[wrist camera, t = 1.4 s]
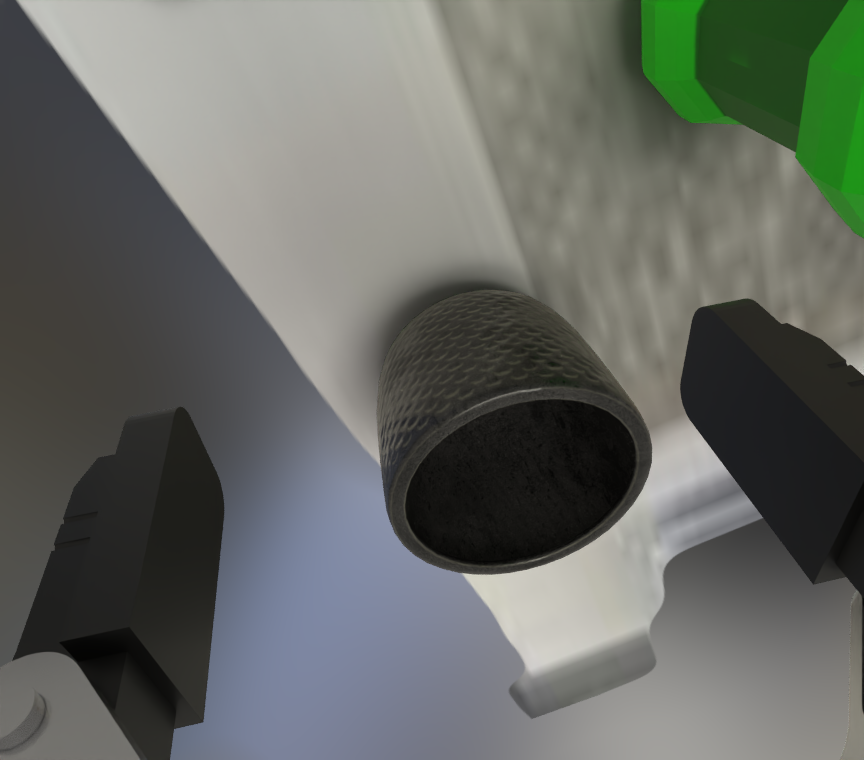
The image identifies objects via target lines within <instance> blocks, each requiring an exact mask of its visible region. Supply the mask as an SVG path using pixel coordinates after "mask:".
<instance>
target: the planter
mask: <svg viewBox="0 0 864 760" xmlns="http://www.w3.org/2000/svg"><path fill="white" fill-rule="evenodd" d="M377 426H378V441H379V452H380V463H381V471H382V479H383V488H384V496H385V502H386V509H387V513H388V517H389V520H390V522H391V525H392V527H393V530H394V532H395V534H396V535H397V536H398V538H399V540H400V541H401V542H402V544H403V545H404V546H405V547H406V548H407V549H408V550H410V552H412V553H413V554H414V555H415V556H417V557H419V558H420V559H422V560H424V561H425V562H427V563H429V564H432V565H434V566H437V567H439V568H442V569H446V570H451V571H454V572H458V573H467V574H491V575H492V574H503V573H511V572H517V571H522V570H527V569H531V568H534V567H538V566H541V565H545V564H548V563H550V562H553V561H555V560H558V559H561V558H563V557H565V556H567V555H569V554H571V553H573V552H575V551H577V550H579V549H581V548H583V547H584V546H586V545H588V544H589V543H591V542H592V541H594V540H596V539H597V538H598V537H600V536H601V535H602V534H604V533H605V532H606V531H608V530H609V529H610V528H611V527H612V526H613V525H614V524H615V523H616V522H618V521H619V520H620V519H621V518H622V517H623V515H624V514H625V513H626V512H627V511H628V510H629V508H630V507H631V506H632V505H633V503H634V502H635V500H636V499H637V497H638V496H639V494H640V493H641V491H642V489H643V487H644V485H645V482H646V480H647V478H648V475H649V471H650V467H651V463H652V444H651V439H650V434H649V430H648V428H647V426H646V424H645V422H644V420H643V418H642V416H641V414H640V412H639V410H638V409H637V407H636V406H635V404H634V403H633V402H632V400H631V399H630V398H629V396H628V395H627V394H626V392H625V391H624V389H623V388H622V387H621V385H620V384H619V383H618V381H617V380H616V379H615V377H614V376H613V375H612V374H611V372H610V371H609V370H608V368H607V367H606V366H605V365H604V363H603V362H602V361H601V360H600V358H599V357H598V356H597V355H596V353H595V352H594V351H593V350H592V349H591V347H590V346H589V345H588V344H587V343H586V341H585V340H584V339H583V338H582V337H581V335H580V334H579V333H578V332H577V331H576V330H575V329H574V328H573V327H572V326H571V325H570V324H569V323H568V322H567V321H566V320H565V319H564V318H562V317H561V316H560V315H559V314H557V313H556V312H555V311H554V310H552V309H551V308H549V307H548V306H546V305H544V304H542V303H540V302H538V301H536V300H535V299H533V298H531V297H528V296H525V295H522V294H519V293H516V292H509V291H503V290H478V291H471V292H465V293H462V294H458V295H454V296H451V297H449V298H447V299H444V300H442V301H440V302H437V303H436V304H434V305H432V306H431V307H429V308H427V309H426V310H424V311H423V312H421V313H420V314H419V315H418V316H416V317H415V318H414V319H413V320H412V321H411V322H410V323H409V324H408V325H407V326H406V327H405V328H404V329H403V330H402V331H401V332H400V334H399V335H398V337H397V338H396V340H395V341H394V342H393V344H392V345H391V347H390V350H389V352H388V354H387V356H386V358H385V361H384V365H383V368H382V372H381V376H380V379H379V387H378V401H377Z"/></svg>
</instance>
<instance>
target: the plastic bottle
mask: <svg viewBox="0 0 864 760" xmlns="http://www.w3.org/2000/svg"><path fill="white" fill-rule="evenodd" d="M641 40H642V67H643V72H644V75H645V76H646V77H647V79H648V80H649V81H650V82H651V83H652V85H653V86H654V87H655V88H656V89H657V90H658V92H659V93H660V94H661V95H662V96H663V98H664V99H665V100H666V101H667V102H668V103H669V105H670V106H671V107H672V108H673V109H674V111H675V112H676V113H677V114H678V115H679V116H680V117H682V118H684V119H685V120H687V121H689V122H690V123H713V124H739V125H745V126H747V127H749V128H751V129H753V130H755V131H756V132H758V133H760V134H762V135H764V136H766V137H768V138H770V139H772V140H774V141H775V142H777V143H779V144H781V145H783V146H785V147H787V148H789V149H791V150H793V151H794V152H796V156H795V157H796V159H797V160H798V161H799V163H800V164H801V165H802V167H803V168H804V169H805V171H806V172H807V174H808V175H809V176H810V178H811V179H812V180H813V182H814V183H815V184H816V186H817V187H818V189H819V190H820V191H821V193H822V194H823V195H824V197H825V198H826V199H827V201H828V202H829V203H830V205H831V206H832V208H833V209H834V210H835V211H836V212H837V214H838V215H839V216H840V217H841V218H842V219H843V220H844V222H845V223H846V224H847V225H848V226H849V227H850V228H851V229H852V231H853V232H854V233H856V234H857V235H859V236H861V237H862V238H864V0H641Z"/></svg>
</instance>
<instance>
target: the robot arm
mask: <svg viewBox="0 0 864 760" xmlns="http://www.w3.org/2000/svg"><path fill="white" fill-rule="evenodd" d="M680 391H681V399H682V403H683V406H684V409H685V411H686V414H687V416H688V418H689V419H690V421H691V422H692V423H693V425H694V426H695V427H696V429H697V430H698V431H699V433H700V434H701V435H702V437H703V438H704V439H705V441H706V442H707V443H708V445H709V446H710V447H711V449H712V450H713V451H714V453H715V454H716V455H717V457H718V458H719V459H720V461H721V462H722V463H723V465H724V466H725V467H726V469H727V470H728V471H729V473H730V474H731V475H732V477H733V478H734V479H735V481H736V482H737V483H738V485H739V486H740V487H741V489H742V490H743V491H744V493H745V494H746V495H747V497H748V498H749V499H750V501H751V502H752V503H753V505H754V506H755V507H756V509H757V510H758V511H759V513H760V514H761V515H762V517H763V518H764V519H765V521H766V522H767V523H768V525H769V526H770V527H771V529H772V530H773V531H774V533H775V534H776V535H777V537H778V538H779V539H780V541H781V542H782V543H783V545H784V546H785V547H786V549H787V550H788V551H789V553H790V554H791V555H792V557H793V558H794V559H795V561H796V562H797V563H798V565H799V566H800V567H801V569H802V570H803V571H804V573H805V574H806V575H807V577H808V578H809V579H810V581H811V582H812V583H813V584H817V583H822V582H826V581H830V580H835V579H839V578H843V577H847V578H848V579H849V581H850V582H851V583H852V584H853V586H854V587H855V588H856V589H857V590H856V592H855V594H854V596H853V598H852V601H851V614H850V615H851V616H850V673H849V678H850V680H849V725H848V732H847V738H846V743H845V746H844V750H843V752H842V756H841V758H840V760H864V375H862V374H861V373H860V372H859V371H858V370H857V369H855V368H854V367H853V366H852V365H849V366H847V364H846V360H845V359H844V358H842V357H841V356H840V355H839V354H838V353H837V352H835V351H834V350H833V349H832V348H831V347H830V346H828V345H827V344H826V343H825V342H824V341H823V340H821V339H820V338H817V337H815V336H813V335H811V334H809V333H807V332H805V331H803V330H801V329H798V328H796V327H794V326H792V325H790V324H788V323H785V324H780V323H779V322H778V321H777V320H776V319H775V318H774V317H773V316H771V315H770V314H769V313H768V312H767V311H766V310H765V309H764V308H762V307H761V306H760V305H759V304H758V303H757V302H755V301H754V300H752V299H741V300H736V301H731V302H726V303H721V304H715V305H710V306H705V307H701V308H699V309H698V310H697V311H696V312H695V314H694V316H693V319H692V324H691V329H690V335H689V340H688V345H687V351H686V356H685V361H684V367H683V372H682V377H681V384H680ZM63 519H64V524H62V525H61V526H60V529H59V532H58V534H57V537H56V540H55V543H54V545H55V551H51V554H50V557H49V560H48V563H47V566H46V568H45V571H44V574H43V577H42V580H41V583H40V586H39V588H38V591H37V594H36V597H35V600H34V602H33V606H32V608H31V611H30V614H29V617H28V619H27V622H26V625H25V628H24V631H23V634H22V637H21V639H20V642H19V645H18V648H17V651H16V653H15V655H14V658H13V660H12V662H10V663H8V664H6V665H4V666H2V667H1V668H0V760H170V754H171V747H172V740H173V732H174V729H176V728H180V727H185V726H189V725H193V724H198V723H202V722H203V719H204V710H205V699H206V690H207V680H208V669H209V660H210V650H211V640H212V630H213V619H214V611H215V610H214V609H215V601H216V590H217V581H218V570H219V560H220V550H221V540H222V531H223V521H224V499H223V492H222V488H221V483H220V480H219V477H218V475H217V472H216V470H215V468H214V466H213V464H212V462H211V460H210V457H209V455H208V453H207V451H206V449H205V447H204V445H203V443H202V441H201V438H200V436H199V434H198V432H197V430H196V428H195V426H194V423H193V421H192V419H191V417H190V415H189V414H188V412H187V411H186V410H185V409H184V408H183V407H176V408H172V409H166V410H161V411H156V412H150V413H145V414H140V415H135V416H131V417H129V418H128V419H127V420H126V422H125V425H124V427H123V431H122V434H121V437H120V441H119V444H118V447H117V451H116V454H115V455H110V456H104V457H100V458H98V459H97V460H96V461H95V462H94V463H93V465H92V466H91V467H90V469H89V470H88V471H87V472H86V473H85V475H84V476H83V477H82V478H81V480H80V481H79V482H78V483H77V484H76V486H75V487H74V489H73V492H72V495H71V498H70V500H69V503H68V506H67V509H66V512H65V515H64V518H63Z"/></svg>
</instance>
